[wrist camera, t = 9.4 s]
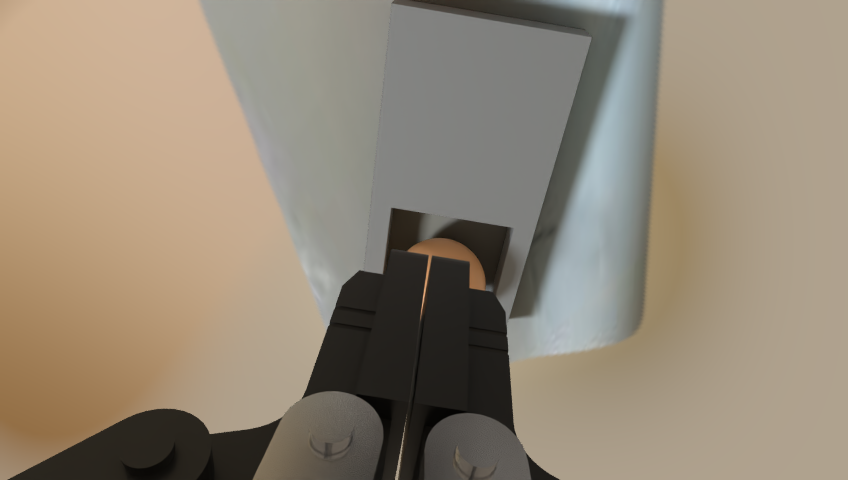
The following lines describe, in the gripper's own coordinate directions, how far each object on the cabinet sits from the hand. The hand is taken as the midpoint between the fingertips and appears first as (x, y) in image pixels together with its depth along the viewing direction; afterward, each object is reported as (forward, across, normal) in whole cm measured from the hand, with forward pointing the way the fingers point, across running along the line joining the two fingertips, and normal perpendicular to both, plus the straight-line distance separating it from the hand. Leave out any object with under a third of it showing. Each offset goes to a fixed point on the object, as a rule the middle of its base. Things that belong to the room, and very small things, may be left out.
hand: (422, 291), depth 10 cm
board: (+28, -2, +11) cm, 30 cm away
